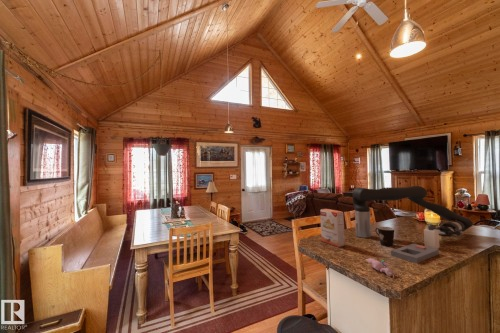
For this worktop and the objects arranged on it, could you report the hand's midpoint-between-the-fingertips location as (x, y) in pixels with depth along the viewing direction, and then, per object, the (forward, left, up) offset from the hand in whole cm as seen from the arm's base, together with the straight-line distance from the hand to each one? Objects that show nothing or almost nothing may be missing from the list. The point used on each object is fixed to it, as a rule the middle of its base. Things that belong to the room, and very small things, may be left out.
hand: (439, 232), depth 132 cm
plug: (-7, -9, -7) cm, 13 cm away
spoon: (+14, +34, -8) cm, 38 cm away
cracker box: (-60, -18, -7) cm, 63 cm away
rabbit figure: (-38, -51, -7) cm, 64 cm away
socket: (-19, -25, -7) cm, 32 cm away
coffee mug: (-30, -10, -7) cm, 32 cm away
